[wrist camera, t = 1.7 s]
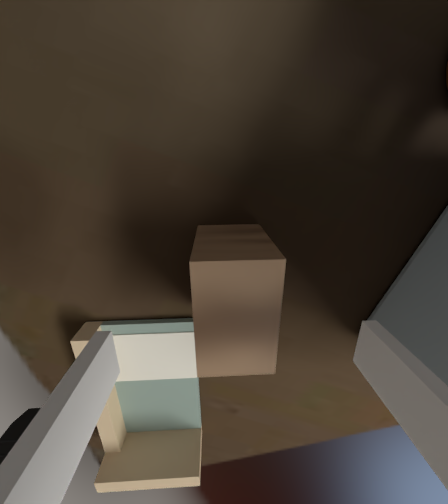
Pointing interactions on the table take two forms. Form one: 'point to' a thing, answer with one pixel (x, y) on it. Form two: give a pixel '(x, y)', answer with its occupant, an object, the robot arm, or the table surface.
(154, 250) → the table surface
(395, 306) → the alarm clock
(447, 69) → the mug
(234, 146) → the table surface
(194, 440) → the toy stand
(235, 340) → the block
